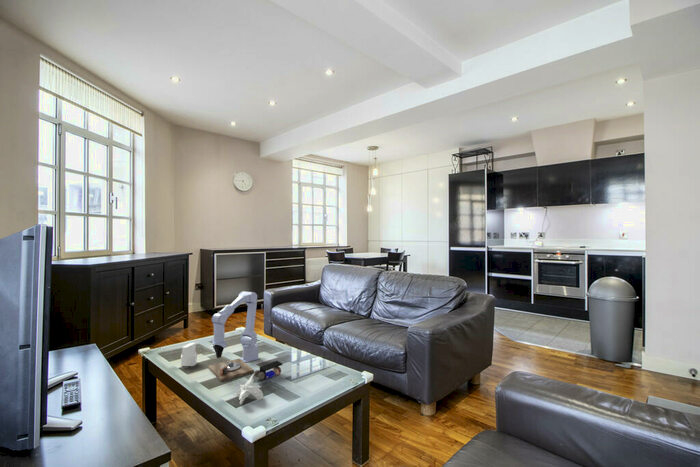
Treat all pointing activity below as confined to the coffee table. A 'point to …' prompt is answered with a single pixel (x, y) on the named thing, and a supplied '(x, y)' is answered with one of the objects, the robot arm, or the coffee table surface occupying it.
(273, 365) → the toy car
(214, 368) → the base board
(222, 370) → the flange plate
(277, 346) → the coffee table surface
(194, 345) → the cylinder with rectangular tab
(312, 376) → the coffee table surface
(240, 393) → the figurine
